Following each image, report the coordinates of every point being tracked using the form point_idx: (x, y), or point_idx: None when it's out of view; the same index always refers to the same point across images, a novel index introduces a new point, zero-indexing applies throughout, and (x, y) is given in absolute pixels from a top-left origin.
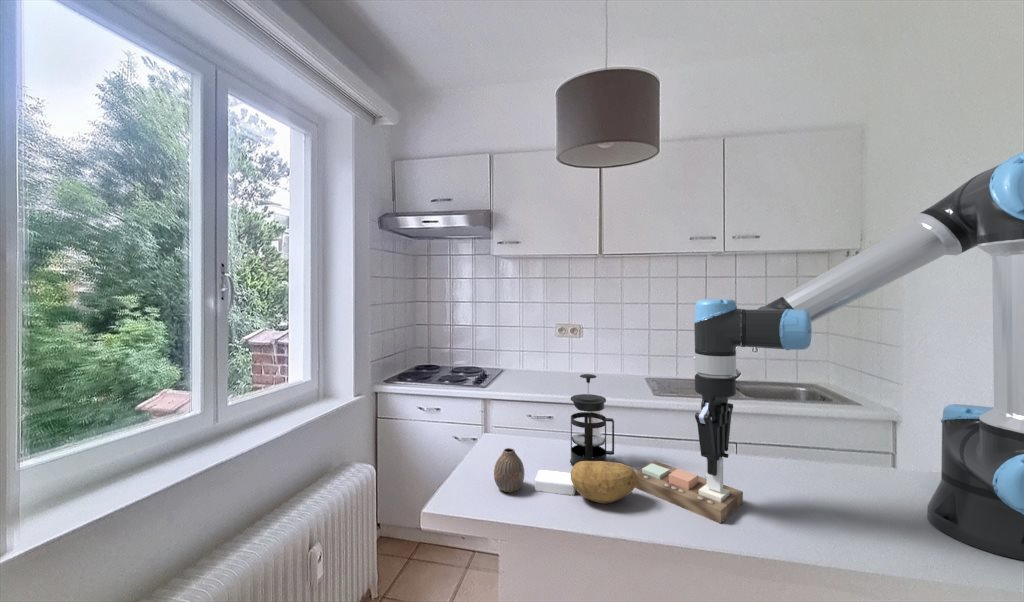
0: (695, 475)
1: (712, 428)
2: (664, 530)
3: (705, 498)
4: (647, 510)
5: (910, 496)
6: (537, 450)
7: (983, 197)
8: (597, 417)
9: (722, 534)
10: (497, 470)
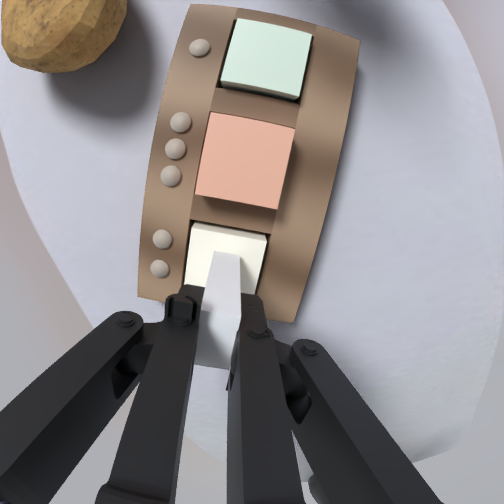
0: (267, 202)
1: (51, 491)
2: (45, 189)
3: (174, 250)
4: (89, 119)
5: (417, 433)
6: None
7: None
8: None
9: (110, 290)
10: None
